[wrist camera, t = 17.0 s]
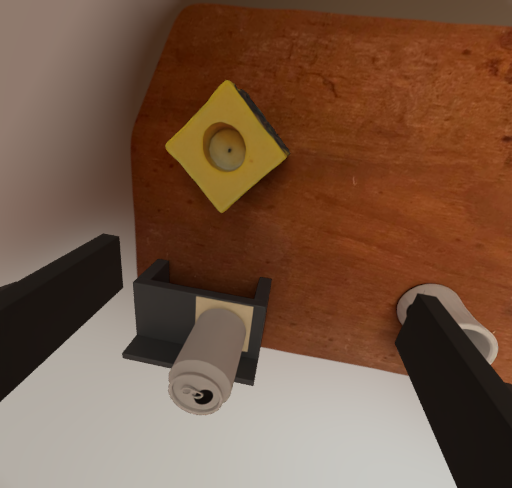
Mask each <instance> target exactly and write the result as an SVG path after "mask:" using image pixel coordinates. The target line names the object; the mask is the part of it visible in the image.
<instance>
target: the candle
mask: <svg viewBox="0 0 512 488" xmlns="http://www.w3.org/2000/svg"><path fill="white" fill-rule="evenodd" d="M165 147H166V149H167V151H168V152H169V153H170V154H171V155H172V156H173V157H174V158H175V159H176V160H177V161H178V162H179V163H180V164H181V165H182V166H183V167H184V169H185V170H186V172H187V173H188V174H189V175H190V176H191V177H192V178H193V180H194V181H195V182H196V183H197V184H198V186H199V187H200V188H201V189H202V191H203V192H204V193H205V195H206V196H207V197H208V198H209V200H210V201H211V202H212V204H213V205H214V206H215V207H216V209H217V210H218V211H219V212H220V213H223V212H224V211H225V210H227V209H228V208H229V207H230V206H231V205H232V204H233V203H235V202H236V201H237V200H239V199H240V198H241V196H242V195H243V194H245V193H246V192H247V191H248V190H249V189H250V188H251V187H252V186H254V185H255V184H256V183H257V182H258V181H260V180H261V179H262V178H263V177H264V176H265V175H266V174H268V173H269V172H270V171H271V170H273V169H274V168H275V167H276V166H278V165H279V164H280V163H281V162H282V161H283V160H285V159H286V158H287V156H288V155H290V152H289V149H288V148H287V147H286V146H285V144H284V143H283V142H282V140H281V138H280V137H279V136H278V134H276V132H275V131H274V129H273V127H272V126H271V125H270V124H269V122H267V120H266V118H265V117H264V115H263V113H262V112H261V111H260V110H259V109H258V108H257V107H256V105H255V104H254V102H253V101H252V100H251V99H250V96H249V94H248V93H246V92H245V91H244V90H242V89H240V90H239V89H238V88H237V87H236V85H235V84H234V83H232V82H230V80H225V81H224V82H223V83H222V84H221V85H220V86H219V87H218V89H217V90H216V91H215V92H214V93H213V95H212V96H211V97H210V99H209V100H208V101H207V103H206V104H205V105H204V106H203V107H202V108H201V109H200V110H199V111H198V112H197V113H196V114H195V115H194V116H193V117H192V118H191V119H190V120H189V122H188V123H187V124H186V125H185V126H184V127H183V128H182V129H181V130H180V131H178V132H177V133H176V134H175V135H174V136H173V137H172V138H171V139H170V140H169V141H168V142H167V144H166V145H165Z"/></svg>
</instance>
